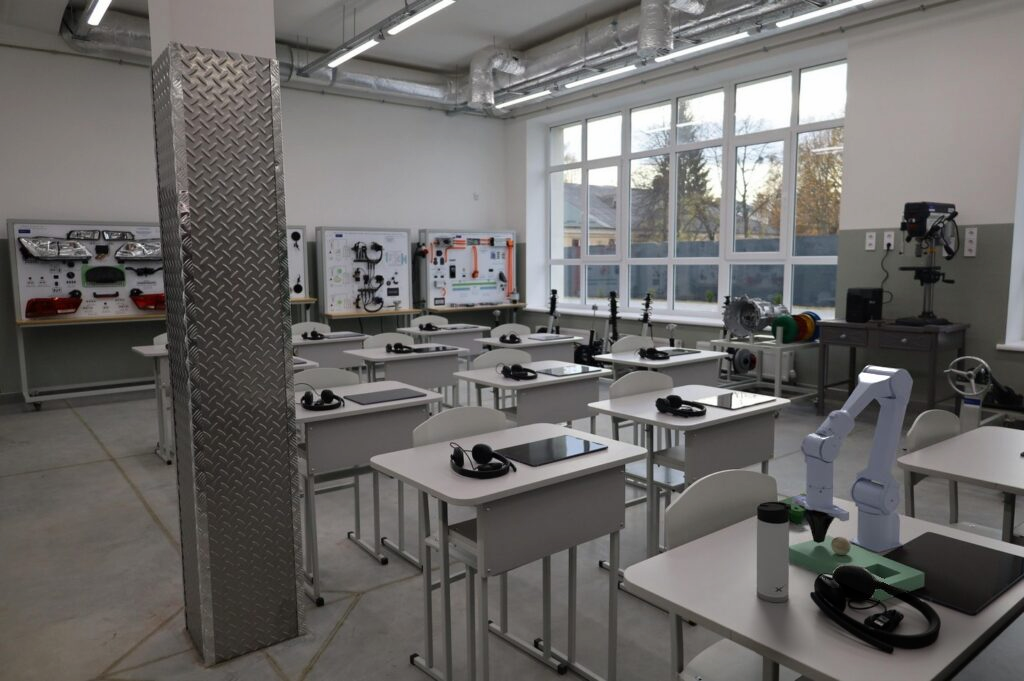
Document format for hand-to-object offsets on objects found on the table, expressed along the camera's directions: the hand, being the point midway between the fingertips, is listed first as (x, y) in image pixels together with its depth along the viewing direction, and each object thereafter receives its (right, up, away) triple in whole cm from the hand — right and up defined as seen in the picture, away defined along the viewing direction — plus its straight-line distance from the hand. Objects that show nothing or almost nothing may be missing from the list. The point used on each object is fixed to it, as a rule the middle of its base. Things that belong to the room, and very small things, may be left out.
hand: (818, 541), depth 159 cm
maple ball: (+3, +1, -5) cm, 6 cm away
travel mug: (-18, -6, -18) cm, 26 cm away
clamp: (+6, -2, +25) cm, 26 cm away
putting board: (+4, -5, -8) cm, 10 cm away
